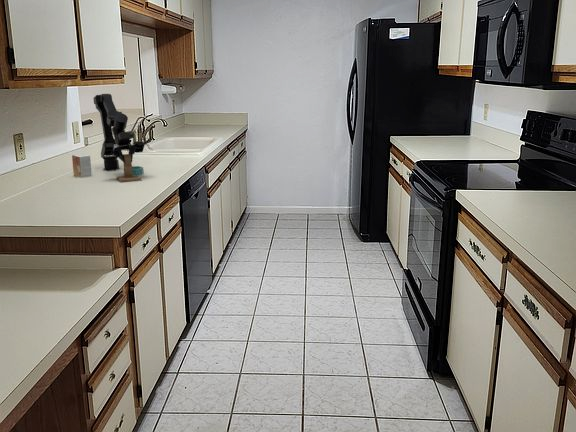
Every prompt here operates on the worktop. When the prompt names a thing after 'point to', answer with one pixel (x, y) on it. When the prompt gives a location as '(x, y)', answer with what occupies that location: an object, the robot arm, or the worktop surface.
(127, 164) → the brown upright piece
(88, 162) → the small box
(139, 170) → the bowl
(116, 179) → the mat
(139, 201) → the worktop surface
